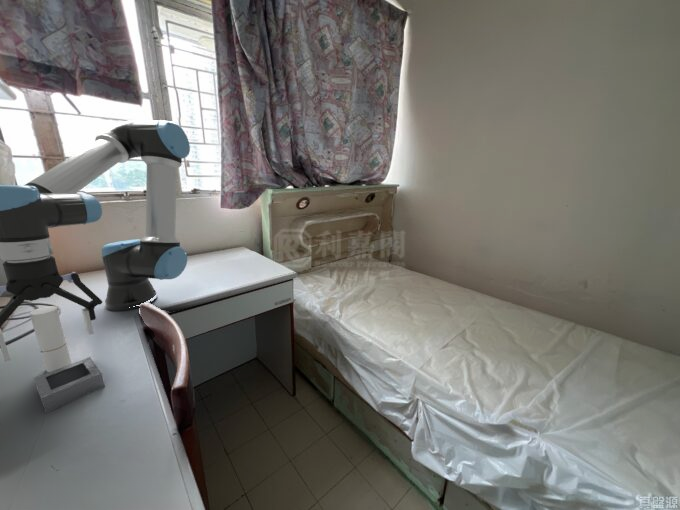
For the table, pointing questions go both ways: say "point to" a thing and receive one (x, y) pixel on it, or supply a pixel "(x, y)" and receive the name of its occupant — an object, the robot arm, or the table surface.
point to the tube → (50, 337)
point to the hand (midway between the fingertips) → (52, 344)
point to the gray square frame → (68, 383)
